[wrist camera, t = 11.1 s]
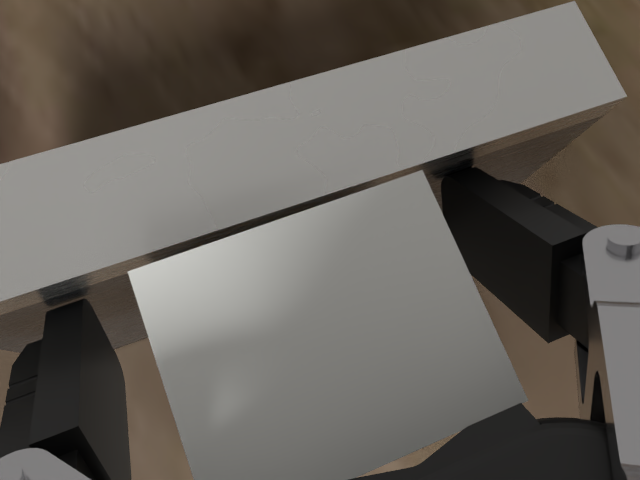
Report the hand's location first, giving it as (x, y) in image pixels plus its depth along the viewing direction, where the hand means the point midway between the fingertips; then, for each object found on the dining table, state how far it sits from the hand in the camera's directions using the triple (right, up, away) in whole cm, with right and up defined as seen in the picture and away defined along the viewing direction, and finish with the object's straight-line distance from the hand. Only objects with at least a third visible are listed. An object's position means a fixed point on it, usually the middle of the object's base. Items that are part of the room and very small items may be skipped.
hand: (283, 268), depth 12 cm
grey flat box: (-1, 0, +7) cm, 7 cm away
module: (0, -3, +6) cm, 7 cm away
